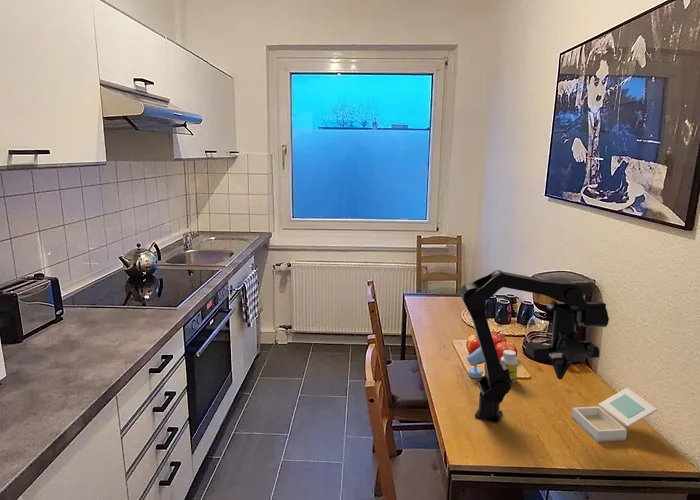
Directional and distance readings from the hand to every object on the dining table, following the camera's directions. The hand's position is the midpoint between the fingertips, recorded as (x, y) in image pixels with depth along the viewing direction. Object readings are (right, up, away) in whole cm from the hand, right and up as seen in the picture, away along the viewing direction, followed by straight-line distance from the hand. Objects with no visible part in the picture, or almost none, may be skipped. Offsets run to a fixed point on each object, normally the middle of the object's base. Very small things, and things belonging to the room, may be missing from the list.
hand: (559, 378), depth 132 cm
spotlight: (-16, -7, +29) cm, 34 cm away
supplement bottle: (-6, -8, +26) cm, 28 cm away
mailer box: (+9, -13, -3) cm, 16 cm away
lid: (+17, -6, -3) cm, 18 cm away
